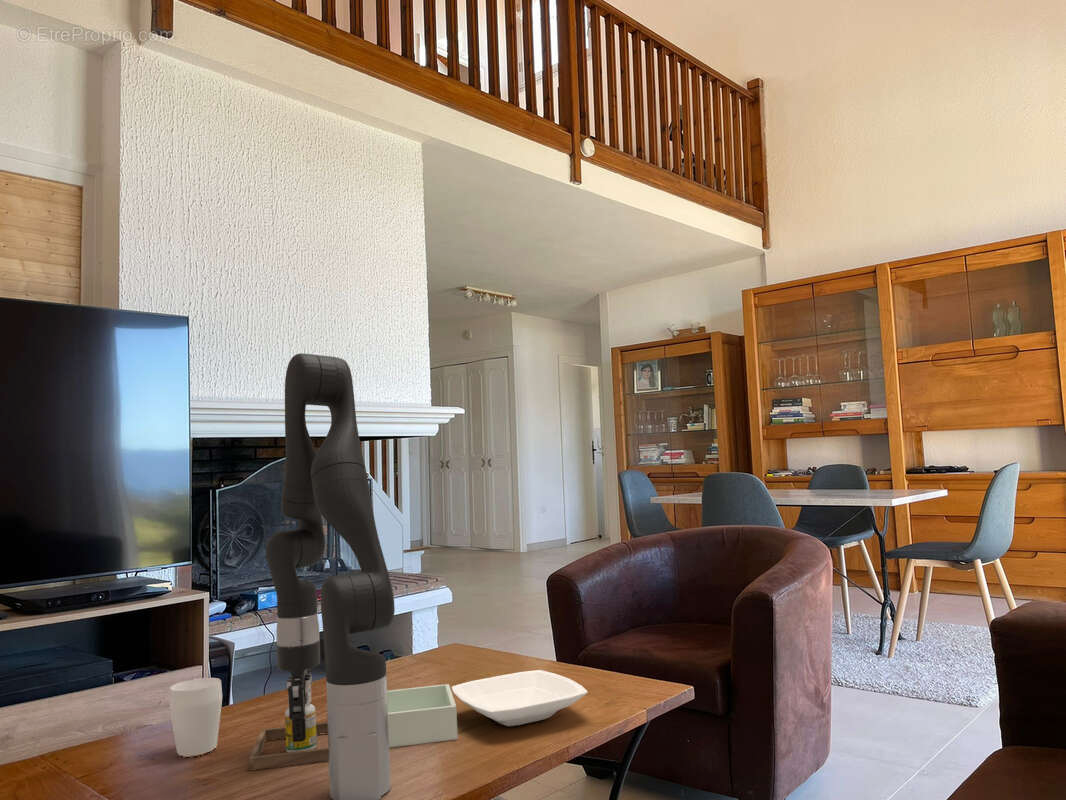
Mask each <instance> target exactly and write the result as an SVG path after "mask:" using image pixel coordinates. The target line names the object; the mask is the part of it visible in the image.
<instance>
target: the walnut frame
mask: <svg viewBox="0 0 1066 800" xmlns="http://www.w3.org/2000/svg"><path fill="white" fill-rule="evenodd" d="M320 733H328V721H324V722H316V734H320ZM280 738H281V740H283V739H282V738H286V732H285V726H281V727H272V728H263V729H261V731H260V733H259V736H258V738H257V740H256V742H255V745H254V747H253V749H252V750H251V753H250V755H249V758H248V771H249V770H252V769H253V771H255V770H254V769H261V770H264V769H263V768H269V769H276V768H275V767H277V768H284V767H291V766H290V765H293V766H299V765H298V764H301V765H307V764H306V763H309V764H316V763H315V762H317V763H323V762H324V761H325V762H329V752H328V747H323V748H321V747H319V748H315V749H312V750H304V751H296V752H287V751H286V752H283V753H282V752H281V753H273V754H272V753H271V754H263V755H262V753H261V751H262V752H263V750H264V748H263V747H265V746H266V743H267V741H266V740H273V739H280ZM273 741H274V740H273ZM265 742H266V743H265ZM264 745H265V746H264ZM262 749H263V750H262ZM260 754H261V755H260ZM304 763H305V764H304Z"/></svg>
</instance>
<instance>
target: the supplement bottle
mask: <svg viewBox="0 0 1066 800" xmlns="http://www.w3.org/2000/svg"><path fill="white" fill-rule="evenodd" d="M304 699H305V697H304ZM311 702H312V692H311V693H309V703H308V705H306V719H305V725H306V738H305V740H304V741H299V742H294V741H293V737H292V720H290V718H289V706H288V707H287V708H285V712H284V727H285V732H286V739H285V751H286V753H287V752H296V751H304V750H312V749H317V743H318V741H317V736H318V735H316V723H317V715H316V714H317V713H316V706H315V705H314V704H312V703H311ZM299 711H301V707H300V706H295V708H294V712H299Z"/></svg>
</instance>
